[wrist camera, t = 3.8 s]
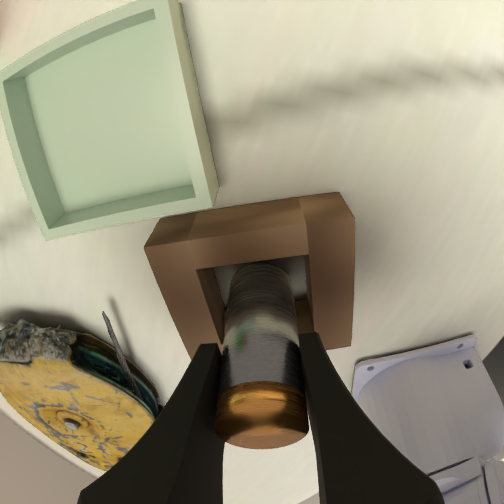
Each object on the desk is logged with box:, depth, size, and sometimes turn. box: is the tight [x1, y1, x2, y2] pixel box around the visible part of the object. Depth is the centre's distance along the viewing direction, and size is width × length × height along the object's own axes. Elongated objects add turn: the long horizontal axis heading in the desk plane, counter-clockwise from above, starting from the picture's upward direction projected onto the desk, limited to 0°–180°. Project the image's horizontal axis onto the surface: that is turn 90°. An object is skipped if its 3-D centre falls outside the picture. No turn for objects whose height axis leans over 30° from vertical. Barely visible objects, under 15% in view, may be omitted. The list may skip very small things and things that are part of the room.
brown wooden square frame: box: [144, 192, 355, 360], centre depth 14 cm, size 8×7×2 cm
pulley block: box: [0, 311, 164, 471], centre depth 23 cm, size 14×6×30 cm
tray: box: [0, 0, 219, 241], centre depth 11 cm, size 8×8×2 cm
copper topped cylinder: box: [215, 263, 309, 449], centre depth 11 cm, size 3×3×7 cm
